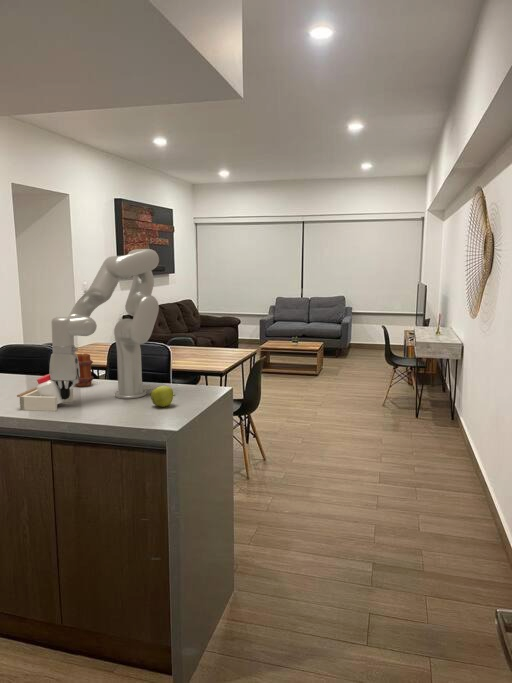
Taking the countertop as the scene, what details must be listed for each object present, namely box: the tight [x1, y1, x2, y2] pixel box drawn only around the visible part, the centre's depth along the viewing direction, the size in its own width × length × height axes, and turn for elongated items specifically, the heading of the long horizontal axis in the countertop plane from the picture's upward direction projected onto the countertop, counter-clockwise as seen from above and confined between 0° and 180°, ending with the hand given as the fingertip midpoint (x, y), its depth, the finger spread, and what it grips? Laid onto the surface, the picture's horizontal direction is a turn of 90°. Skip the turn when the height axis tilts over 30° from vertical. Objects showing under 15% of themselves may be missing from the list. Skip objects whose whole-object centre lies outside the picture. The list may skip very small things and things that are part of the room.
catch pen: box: [16, 386, 74, 412], centre depth 193 cm, size 14×14×6 cm
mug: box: [74, 351, 95, 388], centre depth 227 cm, size 15×8×15 cm, turn 58°
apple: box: [150, 385, 176, 408], centre depth 191 cm, size 8×9×8 cm
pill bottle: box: [36, 373, 66, 405], centre depth 191 cm, size 8×8×11 cm
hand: (65, 398), depth 191 cm, fingers closed
